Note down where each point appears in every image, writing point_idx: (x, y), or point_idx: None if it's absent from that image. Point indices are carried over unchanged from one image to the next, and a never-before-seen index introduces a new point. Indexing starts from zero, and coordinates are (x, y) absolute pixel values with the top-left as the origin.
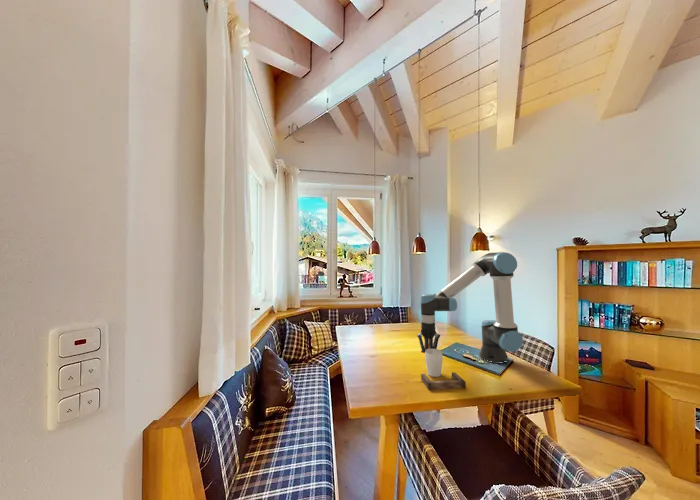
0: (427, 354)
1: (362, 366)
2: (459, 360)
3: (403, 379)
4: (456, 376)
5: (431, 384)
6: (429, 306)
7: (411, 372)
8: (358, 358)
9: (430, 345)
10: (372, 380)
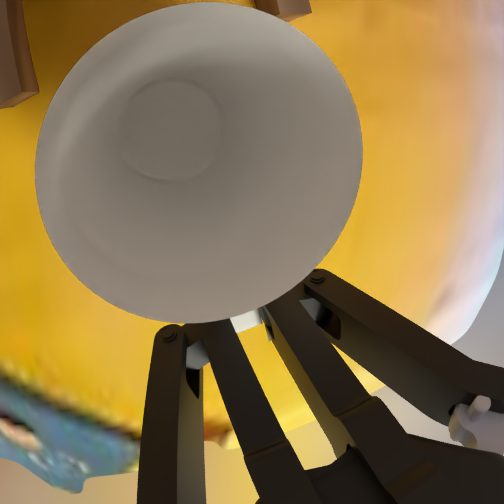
0: (329, 80)
1: (492, 187)
2: (30, 394)
3: (389, 38)
4: (2, 25)
5: None
6: None
7: None
8: (482, 258)
9: (255, 376)
10: (482, 54)
